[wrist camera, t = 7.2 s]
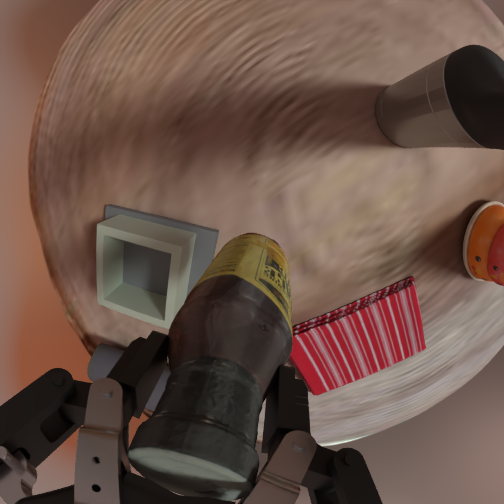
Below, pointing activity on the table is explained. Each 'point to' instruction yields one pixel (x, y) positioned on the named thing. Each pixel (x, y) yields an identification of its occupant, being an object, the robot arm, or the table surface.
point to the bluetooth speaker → (107, 359)
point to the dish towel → (359, 338)
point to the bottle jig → (149, 263)
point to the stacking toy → (485, 243)
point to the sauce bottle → (220, 374)
